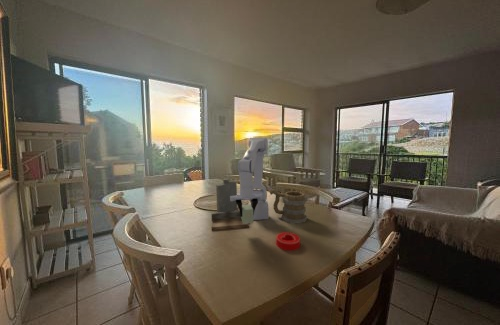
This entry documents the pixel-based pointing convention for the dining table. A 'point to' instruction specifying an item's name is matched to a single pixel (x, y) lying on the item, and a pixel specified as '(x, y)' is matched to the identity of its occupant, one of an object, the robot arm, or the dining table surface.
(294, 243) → the decorative ornament
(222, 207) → the hip flask
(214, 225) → the cleat wall
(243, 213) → the mini cabinet
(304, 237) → the dining table surface
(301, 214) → the tankard
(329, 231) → the dining table surface
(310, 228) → the dining table surface
